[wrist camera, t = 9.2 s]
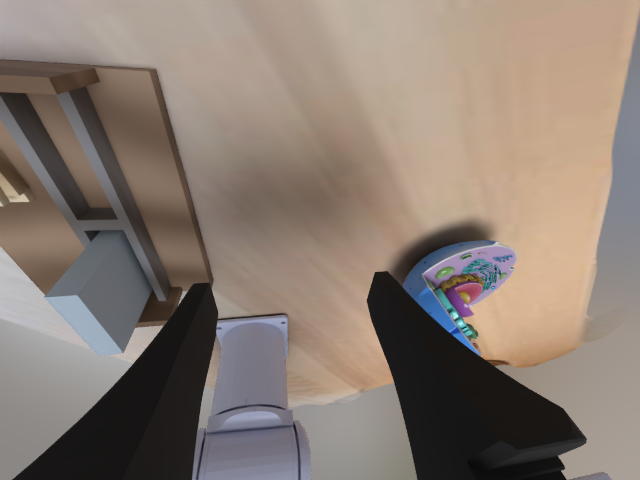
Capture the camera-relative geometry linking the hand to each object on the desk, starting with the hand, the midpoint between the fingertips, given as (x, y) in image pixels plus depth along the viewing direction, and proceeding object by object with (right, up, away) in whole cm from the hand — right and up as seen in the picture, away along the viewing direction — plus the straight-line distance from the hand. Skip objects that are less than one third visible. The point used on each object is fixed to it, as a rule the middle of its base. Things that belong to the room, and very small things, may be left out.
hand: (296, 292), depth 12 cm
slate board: (-14, +1, +9) cm, 16 cm away
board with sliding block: (-15, +5, +7) cm, 17 cm away
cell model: (+14, 0, +16) cm, 21 cm away
